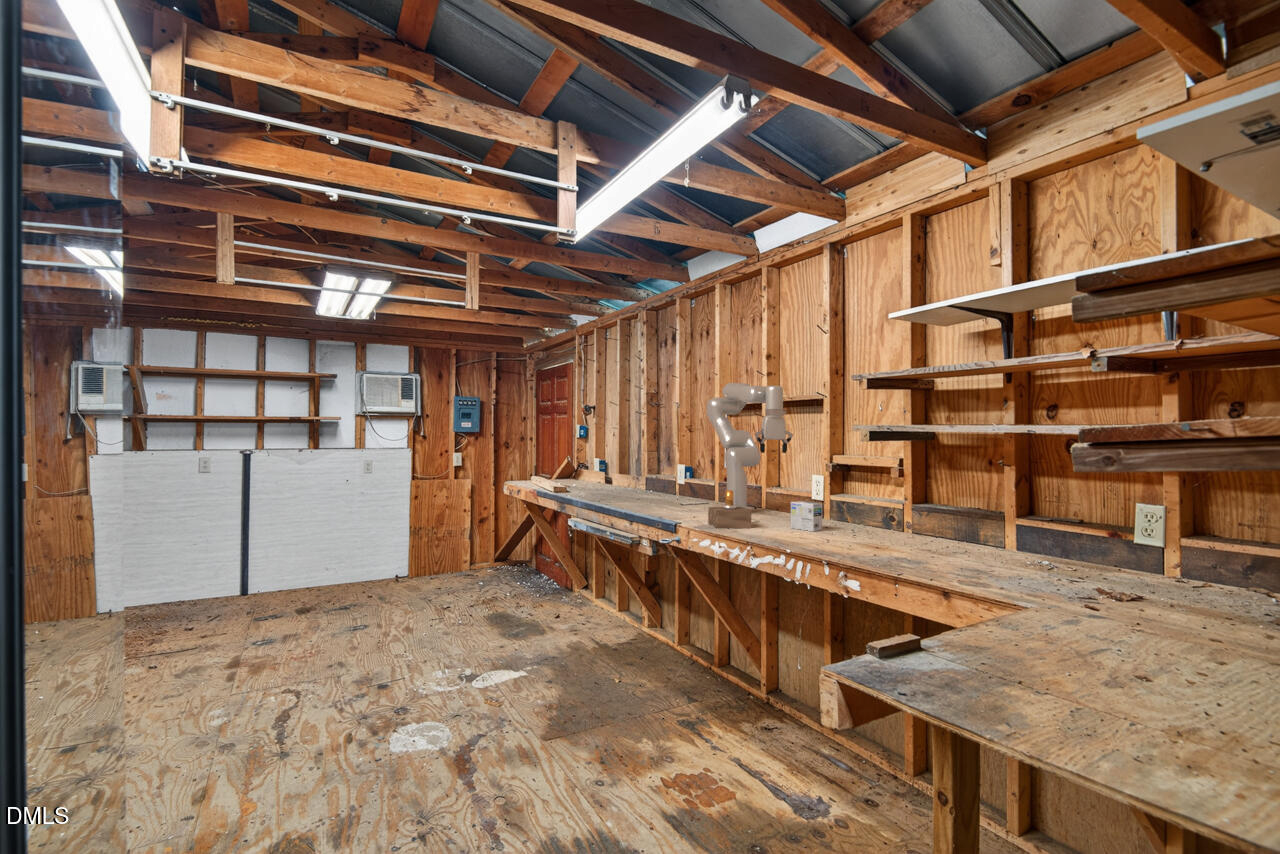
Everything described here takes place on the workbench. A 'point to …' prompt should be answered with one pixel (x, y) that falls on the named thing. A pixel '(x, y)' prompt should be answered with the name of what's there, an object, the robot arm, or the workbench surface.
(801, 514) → the light bulb box
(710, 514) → the block
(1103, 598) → the workbench surface
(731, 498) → the multicoloured piece
